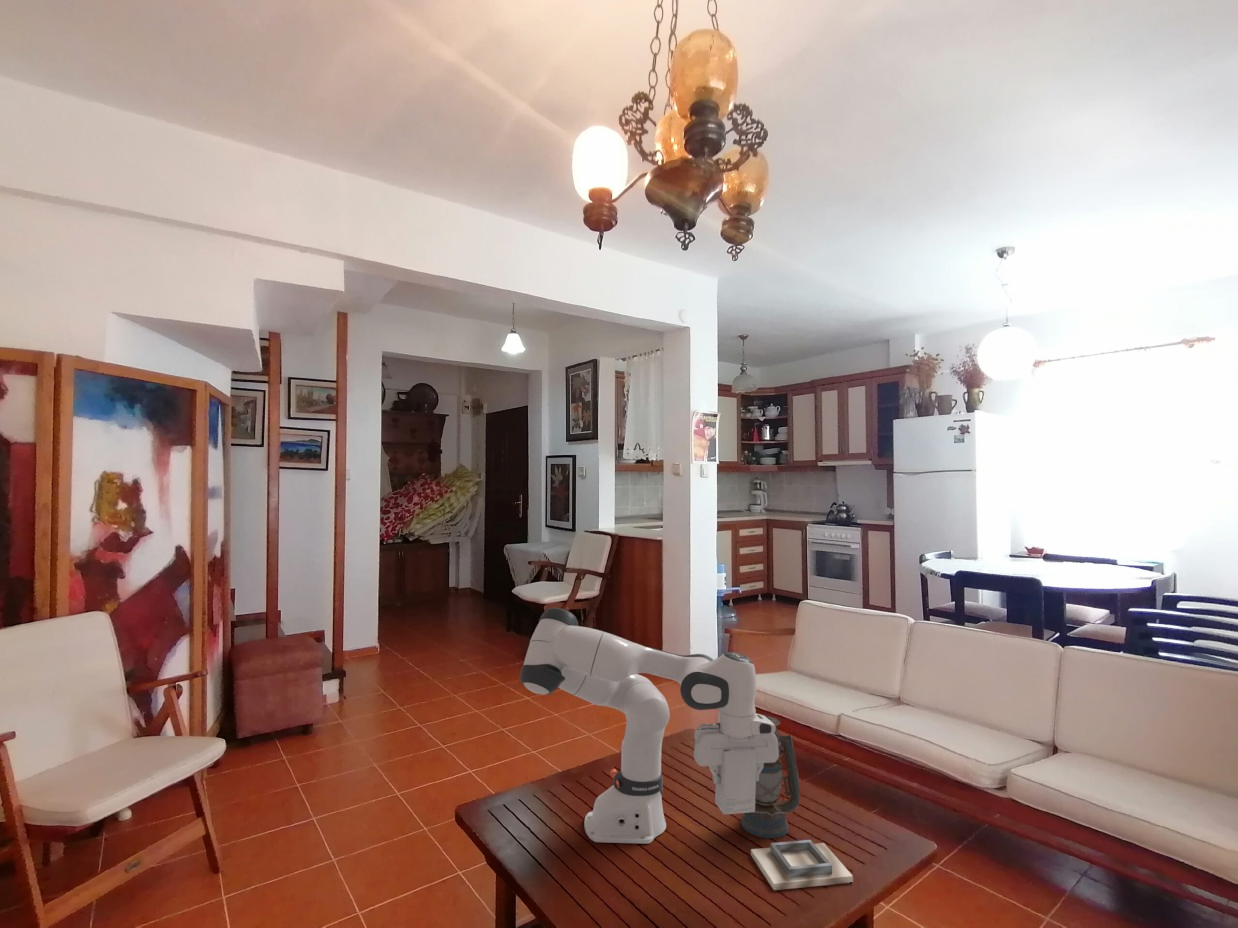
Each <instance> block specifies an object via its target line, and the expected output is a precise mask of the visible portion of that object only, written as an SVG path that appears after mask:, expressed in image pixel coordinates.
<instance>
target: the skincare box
mask: <svg viewBox="0 0 1238 928" xmlns="http://www.w3.org/2000/svg"><path fill="white" fill-rule="evenodd" d="M756 759H757V750H756V749H755V748H746V749H730V750H723V765H718V766H717V769H716V770H715V773H719V775H720V776H721V780H720V781H721V783H720V784H715V792H714V793H715V795H714V796H715V798H714V802H715V804H716V806H717V807H718V809H719V810H720V812H721V813H722V814H723V815H735V814H744V813H749V812H755V791H756Z"/></svg>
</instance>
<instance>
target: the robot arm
mask: <svg viewBox="0 0 1238 928" xmlns="http://www.w3.org/2000/svg"><path fill="white" fill-rule="evenodd" d="M641 674H648V675H651V676H656V677H660V678H663V679H668V680H671V681H675V682H676V683H678V684H680V686H679V691H680V696H681V698H682V700H683V702H684V703H685V704H686V705H687V706H689V708H692V709H694V710H697V711H706V710H707V711H708V710H716V709H717V711H718V712H717V715H718V716H717V723H703V724H700V726H697V727H696V728H695V730H694V741H695V743H694V749H693V759H694V760H695V762H696V764H697V765H699V766H700V767H708V768H709V770H710V772H711V774H712V783H713V784H714V785H716V784H720V783H721V781H720V780H721V776H720V775H719V773H716V769H717V766H718V765H723V750H730V749H746V748H755V749H756V750H757V759H756V781H759V774H760V772H761V771H762V769H763V767H764V763H773V762H776V761H777V759H778V758H779V757H778V756H779V750H778V740H777V737H776V735H775V734H774V733H775V729H776V728H775V725H774V724H773V723H772V722H771V721H770V720H769V719H768V718H767V717H765V716H766V715H764V714H760V713H756V711H757V710H756V706H755V700H756V699H755V698H756V696H757V675H756V674H757V673H756V668H755V664H754V662H753V661H752V660H751V659H750V657H748V656H747V655H744V654H743V653H742V654H741V653H738V652H733V651H727V652H726V651H724V652H723V653H722V654H721V655H720V656H718V657H716V658H715V659H713V658H712V657H710V656H709V655H706V654H704V653H692V654H685V655H684V654H676V653H674V652H673V653H672V652H668V651H665V650H661V649H657V648H654V647H648V646H645V645H642V644H639V643H636V642H633V641H631V640H628V639H626V638H623V637H620V636H618V635H615V634H613V633H609V632H606V631H603V630H601V629H600V630H599V629H595V628H592V627H586V626H580V625H579V621H578V620H577V617H576V616H575V615H574V614H573V613H572V612H571V611H570V610H569V611H568V610H567V609H564V608H560V607H550V608H546V610H545V611H544V612H542V614H541V616H540V617H539V619H538V624H537V625H536V627H535V629H534V632H533V634H532V636H531V638H530V641H529V644H528V647H527V651H526V654H525V657H524V661H523V665H522V666H521V668H520V674H519V681H520V684H522V686H523V687H524V688H525V689H527V690H528V691H529V692H531V693H534V694H537V695H551V694H553V693H554V692H556V691H557V689H558V688H559V689H560V690H563V691H564V692H566V693H569V694H570V695H572V696H575V697H576V698H580V699H582V700H585V701H586V702H589V703H591V704H594V705H595V706H598V707H601V706H602V707H603V706H604V707H608V708H613V709H615V710H618V711H620V712H621V713H623V714H624V715H625V718H626V726H625V731H624V737H623V740H622V742H621V754H620V755H621V759H620V760H621V764H620V766H621V767H620V770H619V771H618V770H617V769H616V768H612V769H611V771H609V773H610V777H611V779H613V785H612V786H610V787H608V789H606V790H604V792H602V793H601V794H600V795H599V796H597V797H596V799H595V801H594V805H593V809H592V811H588V812H587V814H585V818H584V823H583V825H584V826H583V827H584V831H585V834H586V835H587V836H588V838H589V839H590V840H591V841H593V842H594V843H611V844H612V843H614V844H616V843H617V844H644V845H645V844H647V845H649V844H651V843H652V842H653V841H654V839H655V838H656V837H658V836H659V835H661V834H663V833H664V832H665V830H666V828H667V822H666V818H665V815H664V814H665V813H664V808H663V801H662V800H663V799H662V795H663V790H664V778H663V776H664V775H663V773H662V746H663V739H664V736H665V735H664V734H665V729H666V727H667V725H668V724H669V722H670V718H671V717H670V715H671V713H670V709H669V708H670V707H669V705H668V702H667V699H666V698H665V697H666V696H665V695H663V693H662V692H660V690H659V689H658V688H657V687H656V686H655V685H654V683H653V682H652V681H651V680H650V679H649V678H647V677H646V676H643V675H641Z"/></svg>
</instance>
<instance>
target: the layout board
mask: <svg viewBox="0 0 1238 928" xmlns="http://www.w3.org/2000/svg"><path fill="white" fill-rule="evenodd" d="M750 856H751V858H752V860H753V861H754V863H756V866H757V867H758V869H759V870H760V872H761V873H762V875H763V876H764V878H765V879H766V880H767V882H768V884H769V886H771V888H772V890H773V891H781V890H790V889H801V888H809V887H811V888H812V887H819V886H820V887H822V886H830V885H831V886H832V885H840V884H841V885H842V884H850V882H852V883H854V876H853V874H852V873H851V872H850V871H849V870H848V869H847V868H846V866H845V865H844V864H843V863H842V862H841V861H840V860H839V858H838V857H837V856H836V855H835V854H834V853H833V852H832V850H830V848H829V847H828V846H827V845H826V844H825V842H823V843H822V842H819V843H814V842H813V841H812V840H811V839H804V840H791V841H782V842H781V841H780V842H779V841H778V842H770V843H769V847H761V848H751V849H750Z"/></svg>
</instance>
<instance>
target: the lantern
mask: <svg viewBox="0 0 1238 928" xmlns="http://www.w3.org/2000/svg"><path fill="white" fill-rule="evenodd" d="M764 716H765V717H767V718H768V719H769V720H770V721H771V722H772V723H773V724H774V725H775V728H776V729H775V733H774V734H775V735H776V737H777V740H778V750H779V756H778V759H777V761H776V762H773V763H764V767H763V769H762V771H761V772H760V774H759V781H756V791H755V812H749V813H742V814H743V815H742V816H741V820H740V825H741V827H742V828H743V830H744V831H746V832H747V833H749V834H750V835H753V836H756V837H758V838H763V839H778V838H779V839H780V838H782V837H784V836H786V835H787V834H788V831H789V824H788V820H787V819H786V814H790V813H791V814H792V813H793V812H794V811H795V810H797V808H798V806H799V804H800V803H801V788H800V777H799V772H798V765H797V759H796V754H795V749H794V745H793V744H794V743H793V740H794V738H793V737H792V734H791V733H789V734H788V735H787V734H785V735H784V734H783V735H782V734H780V733H781V732H780V731H779V730H778V728H777V727H778V726H780V724H781V721H780V720H779V719H778V718H777V717H774V716H770V715H766V714H765V715H764ZM783 754H784V758H785V759H784V760H785V765H786V772H787V773H786V774H787V775H786V774H785V775H784V771H783V766H782V761H781V759H780V758H781V757H783ZM782 785H783V786H784V791H785V792H784V793H783V798H782V801H779V799H780V798H781V796H780V793H781V791H782ZM785 796H786V797H788V796H790V797H789V798H788V799H787V800H786V801H784V800H785Z"/></svg>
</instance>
